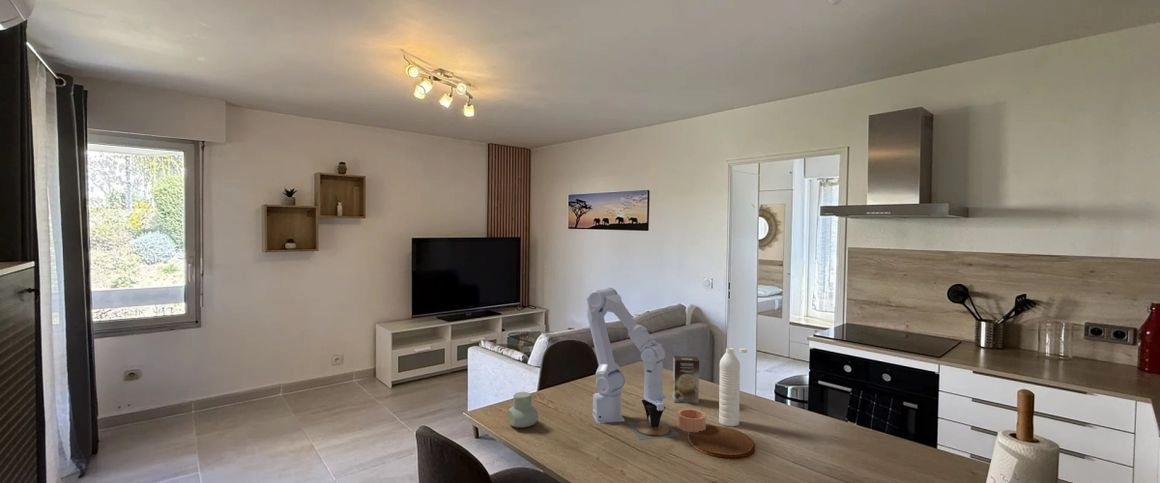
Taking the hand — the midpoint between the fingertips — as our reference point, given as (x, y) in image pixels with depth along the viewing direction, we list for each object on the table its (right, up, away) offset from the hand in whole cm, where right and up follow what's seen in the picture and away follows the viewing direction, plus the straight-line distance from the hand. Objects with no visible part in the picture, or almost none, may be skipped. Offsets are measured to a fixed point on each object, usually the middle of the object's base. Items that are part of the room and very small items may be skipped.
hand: (653, 424), depth 154 cm
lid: (0, -1, 0) cm, 1 cm away
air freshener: (-42, -2, +5) cm, 43 cm away
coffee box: (+16, -2, +27) cm, 32 cm away
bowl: (+13, -2, +2) cm, 13 cm away
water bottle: (+27, -2, +6) cm, 28 cm away
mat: (0, -2, 0) cm, 2 cm away
